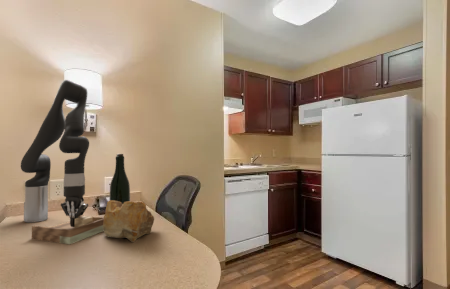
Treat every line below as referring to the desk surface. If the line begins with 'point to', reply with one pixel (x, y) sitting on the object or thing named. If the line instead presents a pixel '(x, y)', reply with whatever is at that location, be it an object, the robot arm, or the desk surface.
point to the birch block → (83, 221)
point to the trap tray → (68, 231)
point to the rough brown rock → (127, 220)
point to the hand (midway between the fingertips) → (74, 226)
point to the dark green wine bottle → (120, 182)
